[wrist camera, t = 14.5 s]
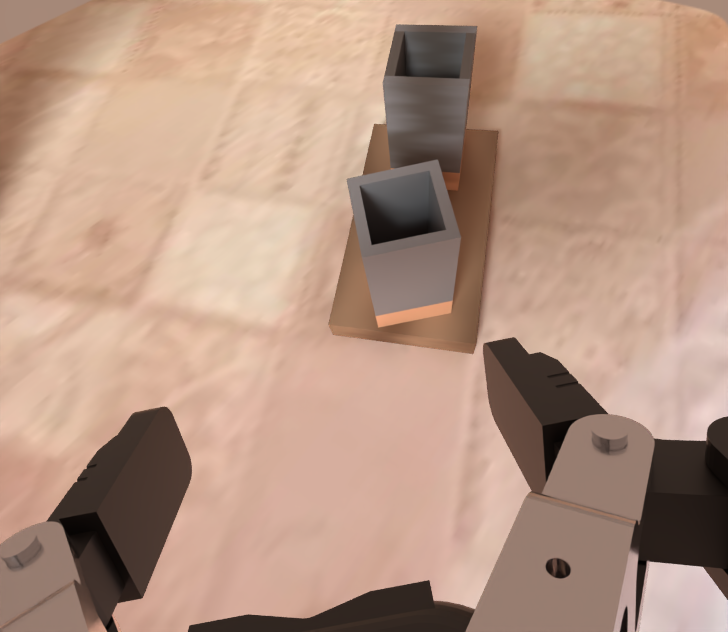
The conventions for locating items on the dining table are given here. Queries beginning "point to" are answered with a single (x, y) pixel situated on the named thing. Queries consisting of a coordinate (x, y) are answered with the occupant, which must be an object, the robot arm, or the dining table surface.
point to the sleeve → (406, 241)
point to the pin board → (459, 169)
